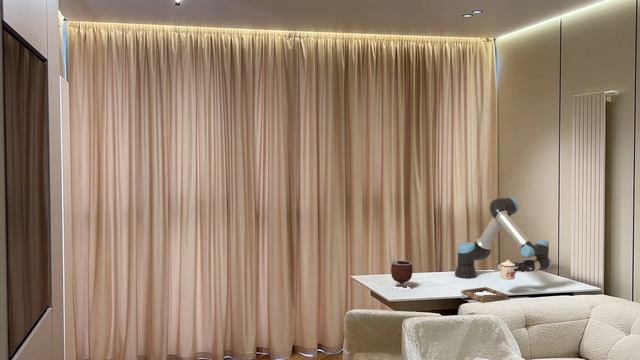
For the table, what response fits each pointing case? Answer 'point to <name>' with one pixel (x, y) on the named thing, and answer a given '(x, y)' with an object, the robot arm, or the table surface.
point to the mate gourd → (401, 271)
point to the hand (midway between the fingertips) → (504, 268)
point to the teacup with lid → (507, 270)
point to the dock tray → (485, 298)
